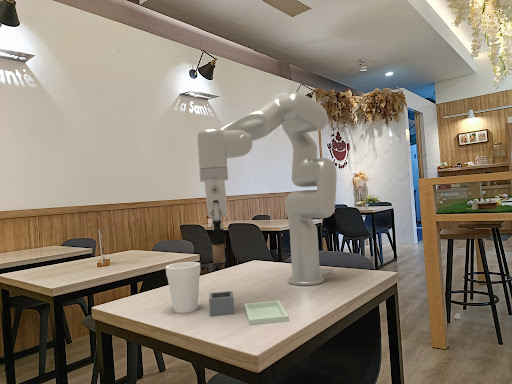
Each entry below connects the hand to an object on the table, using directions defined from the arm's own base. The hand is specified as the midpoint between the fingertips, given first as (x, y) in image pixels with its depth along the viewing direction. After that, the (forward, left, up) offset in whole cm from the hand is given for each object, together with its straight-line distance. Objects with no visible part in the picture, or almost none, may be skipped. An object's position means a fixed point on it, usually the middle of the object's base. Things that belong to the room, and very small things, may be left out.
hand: (218, 242), depth 104 cm
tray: (-11, +6, -19) cm, 23 cm away
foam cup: (+10, -5, -19) cm, 22 cm away
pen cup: (0, 0, -19) cm, 19 cm away
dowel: (0, 0, -5) cm, 5 cm away
